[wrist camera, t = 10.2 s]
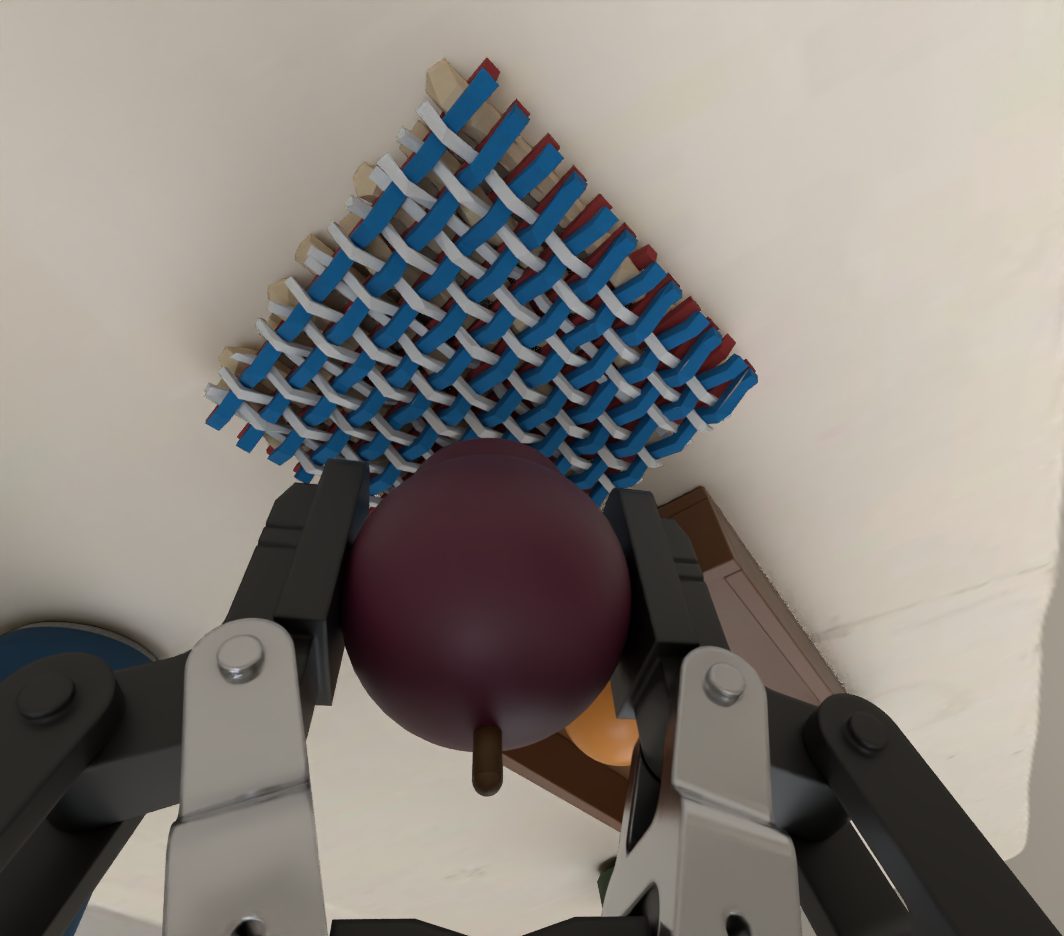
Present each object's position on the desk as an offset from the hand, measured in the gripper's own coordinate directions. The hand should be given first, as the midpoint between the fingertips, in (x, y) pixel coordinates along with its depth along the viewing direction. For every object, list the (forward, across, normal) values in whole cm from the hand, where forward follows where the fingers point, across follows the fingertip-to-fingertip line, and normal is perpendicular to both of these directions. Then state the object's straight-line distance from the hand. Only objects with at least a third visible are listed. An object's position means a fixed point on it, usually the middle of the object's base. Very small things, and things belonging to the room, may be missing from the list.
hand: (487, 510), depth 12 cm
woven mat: (+5, 0, 0) cm, 5 cm away
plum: (0, 0, 0) cm, 0 cm away
